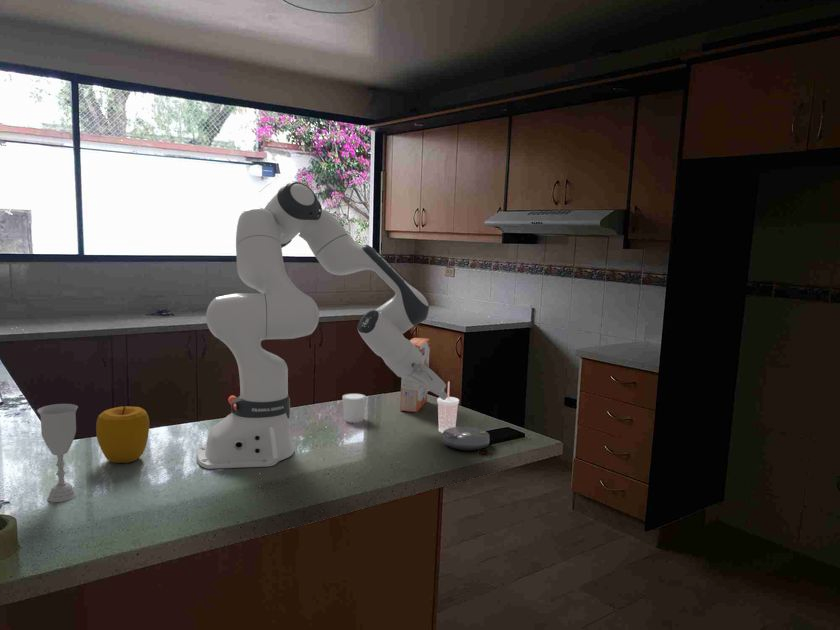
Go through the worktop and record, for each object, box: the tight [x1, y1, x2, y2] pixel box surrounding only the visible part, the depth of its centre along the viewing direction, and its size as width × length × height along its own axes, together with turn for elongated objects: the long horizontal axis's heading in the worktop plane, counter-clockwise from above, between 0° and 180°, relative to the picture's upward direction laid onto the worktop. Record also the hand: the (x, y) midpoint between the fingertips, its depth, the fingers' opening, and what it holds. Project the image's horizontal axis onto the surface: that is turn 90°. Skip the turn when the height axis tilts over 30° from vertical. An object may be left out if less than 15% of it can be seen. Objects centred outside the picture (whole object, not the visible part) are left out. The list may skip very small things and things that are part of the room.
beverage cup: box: [436, 381, 460, 434], centre depth 169 cm, size 6×6×14 cm
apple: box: [95, 406, 151, 464], centre depth 140 cm, size 11×11×13 cm
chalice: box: [37, 403, 79, 503], centre depth 120 cm, size 7×7×18 cm
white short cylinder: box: [341, 392, 367, 423], centre depth 177 cm, size 7×7×7 cm
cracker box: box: [399, 337, 431, 413], centre depth 191 cm, size 14×6×21 cm, turn 167°
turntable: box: [442, 426, 490, 452], centre depth 158 cm, size 12×12×3 cm
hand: (436, 393), depth 168 cm, fingers open, 8 cm apart
